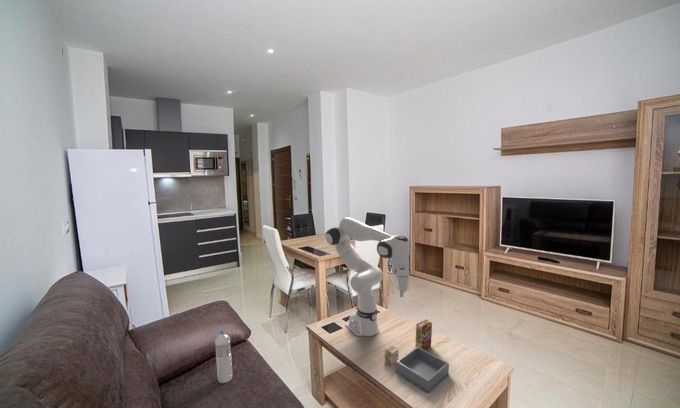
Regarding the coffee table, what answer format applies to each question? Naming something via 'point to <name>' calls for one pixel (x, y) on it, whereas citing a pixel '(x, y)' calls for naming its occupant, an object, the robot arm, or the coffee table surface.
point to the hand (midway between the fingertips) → (400, 292)
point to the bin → (422, 369)
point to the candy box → (423, 334)
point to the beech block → (391, 355)
